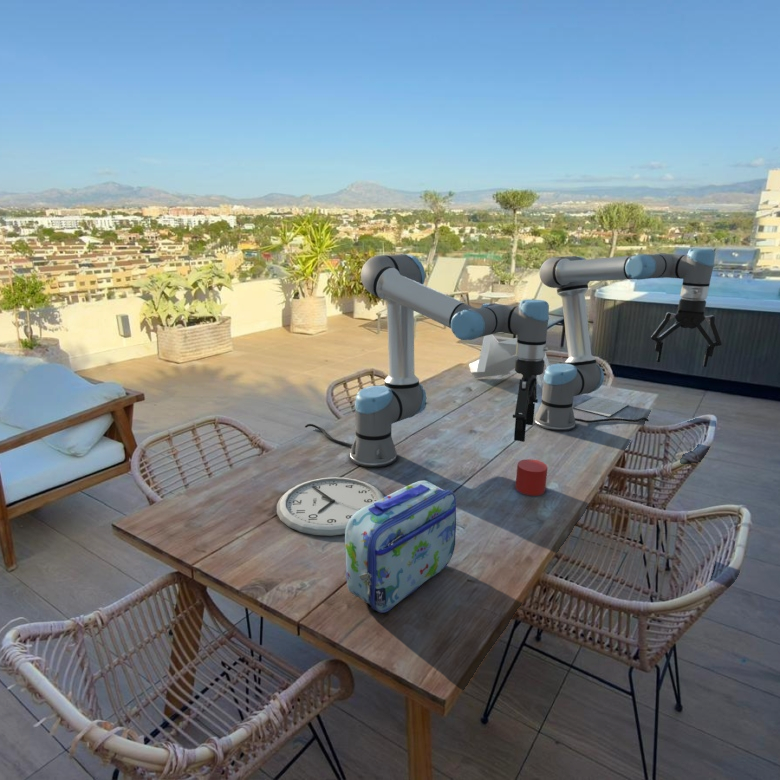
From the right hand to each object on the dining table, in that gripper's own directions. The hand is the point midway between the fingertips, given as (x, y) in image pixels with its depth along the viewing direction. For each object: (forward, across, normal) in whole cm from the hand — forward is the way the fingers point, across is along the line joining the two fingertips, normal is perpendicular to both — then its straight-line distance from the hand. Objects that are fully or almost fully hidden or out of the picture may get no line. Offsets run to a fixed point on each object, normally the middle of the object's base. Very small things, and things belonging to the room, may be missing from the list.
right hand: (680, 363), depth 173 cm
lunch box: (+31, -56, -105) cm, 123 cm away
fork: (+31, -94, +6) cm, 99 cm away
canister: (+31, -38, -49) cm, 70 cm away
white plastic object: (+31, -66, +56) cm, 92 cm away
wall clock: (+31, -86, -82) cm, 123 cm away
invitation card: (+31, -22, +40) cm, 56 cm away
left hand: (+13, -41, -52) cm, 68 cm away
